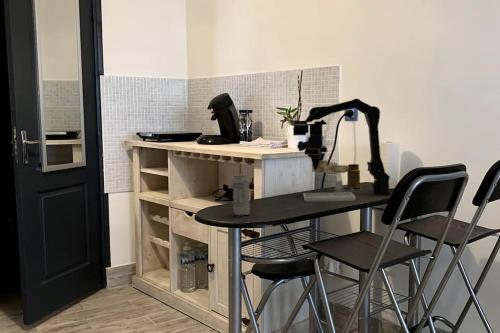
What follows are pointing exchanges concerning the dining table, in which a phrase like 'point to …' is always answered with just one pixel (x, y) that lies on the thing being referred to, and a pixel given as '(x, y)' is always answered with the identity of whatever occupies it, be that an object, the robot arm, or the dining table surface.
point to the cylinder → (338, 186)
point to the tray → (328, 197)
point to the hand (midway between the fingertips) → (316, 169)
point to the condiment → (353, 175)
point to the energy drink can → (241, 194)
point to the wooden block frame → (330, 168)
